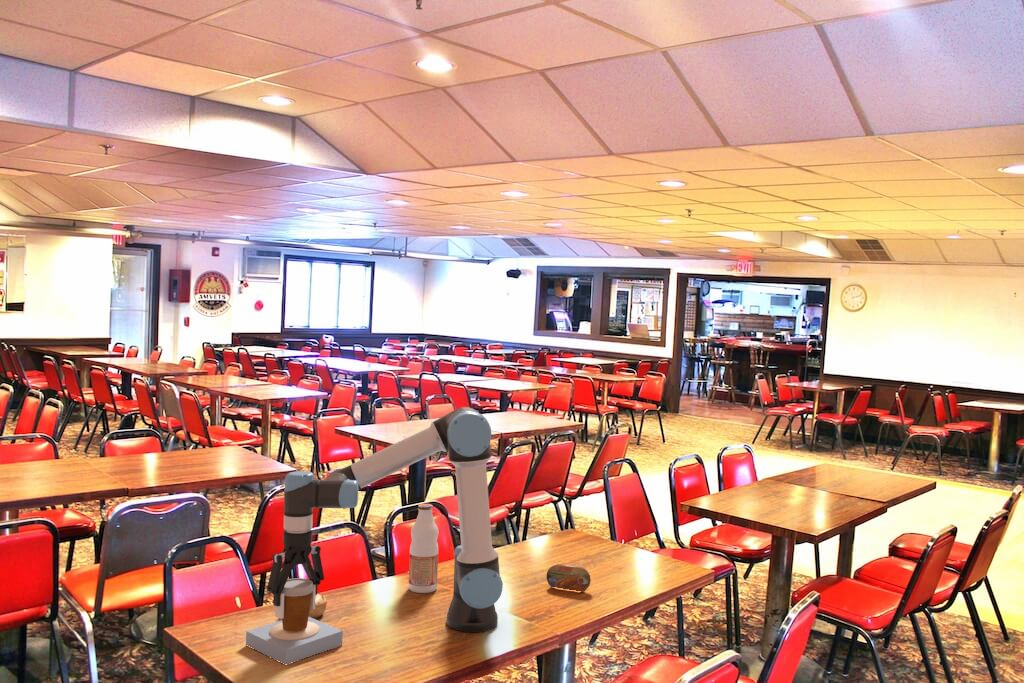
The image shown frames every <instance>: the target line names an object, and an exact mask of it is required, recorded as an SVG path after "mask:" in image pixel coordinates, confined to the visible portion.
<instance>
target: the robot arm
mask: <svg viewBox="0 0 1024 683" xmlns="http://www.w3.org/2000/svg"><path fill="white" fill-rule="evenodd" d="M491 441H492V428H491V425H490V423H489V421H488V419H487V418H486V417H485V416H484V415H483V414H481V413H480V412H479V411H478V410H476V409H474V408H472V407H469V406H462V407H459V408H456V409H454V410H452V411H450V412H448V413H446V414H445V415H443V416H441V417H440V418H438V419H435V420H434V421H431V424H430V426H429V427H427V428H425V429H423V430H420V431H419V432H417V433H415V434H412V435H411V436H408V437H406V438H404V439H401V440H399V441H397V442H395V443H393V444H391V445H389V446H387V447H385V448H383V449H381V450H377V452H374V453H373V454H370V455H368V456H365V457H364V458H362V459H359V460H358V461H355V462H353V463H352V464H350V465H348V466H345V467H343V468H338V469H334V470H333V471H331V472H330V473H329V474H328V475H327V478H326V479H315V475H314V473H313V472H311V471H305V470H297V471H296V470H295V471H290V472H289V473H287V474H286V475H285V477H284V478H285V481H284V489H283V491H284V494H283V498H284V499H283V500H284V501H283V507H284V509H283V529H284V531H283V532H282V534H283V535H282V545H283V550H282V552H281V553H279V554H278V553H273V554H272V565H271V570H270V574H269V579H268V583H267V587H266V591H267V593H268V592H269V593H270V594H273V598H272V599H273V602H272V604H273V606H274V607H275V608H274V609H275V610H274V611H275V614H274V617H276V618H278V619H280V620H282V619H283V618H284V594H283V593H282V591H283V588H284V586H285V584H286V581H287V580H288V579H289V576H290V574H291V573H292V571H293V570H294V568H295V567H296V566H298V565H302V568H303V569H304V572H305V574H306V576H307V579H309V580H311V581H312V582H313V585H314V590H313V592H312V597H311V604H310V608H311V609H315V595H317V594H318V586H319V585H321V581H324V580H325V574H324V569H323V564H322V558H321V546H319V545H316V544H312V541H313V530H312V529H313V520H314V519H313V516H314V515H313V513H314V511H313V509H353V508H356V507H357V506H358V504H359V491H360V490H361V489H362V488H365V487H367V486H369V485H371V484H373V483H375V482H377V481H379V480H382V479H383V478H386V477H388V476H390V475H392V474H394V473H396V472H398V471H401V470H402V469H406V468H407V467H409V466H412V465H413V464H416V463H417V462H419V461H421V460H424V459H426V458H428V457H430V456H432V455H434V454H436V453H438V452H441V451H442V452H445V453H446V452H448V461H449V463H450V464H452V465H453V466H454V467H455V479H456V480H455V481H456V492H457V493H456V494H457V495H456V496H457V508H458V519H459V520H458V521H459V534H460V535H459V537H460V544H459V545H458V546H456V547H455V549H454V555H453V557H454V563H453V564H454V567H453V568H454V569H453V594H452V595H453V596H452V599H451V602H450V604H449V608H448V611H447V613H446V620H445V621H446V624H447V626H448V627H449V628H451V629H453V630H456V631H460V632H465V633H480V632H486V631H489V630H492V629H494V628H496V627H497V625H498V621H499V618H498V613H497V610H496V607H495V603H497V601H499V599H500V597H501V596H502V592H503V584H504V583H503V579H502V577H501V575H500V564H499V553H498V552H497V551H496V550H495V549H494V546H493V540H492V527H491V513H490V512H491V511H490V500H489V499H490V498H489V485H488V472H487V463H488V462H489V461H490V459H491V458H492V454H491V452H492V451H491ZM311 544H312V545H311ZM310 555H311V559H310Z"/></svg>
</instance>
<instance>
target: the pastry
mask: <svg viewBox="0 0 1024 683" xmlns="http://www.w3.org/2000/svg"><path fill="white" fill-rule="evenodd" d="M327 604H328V600H327V598H326V597H325V595H324V594H321V593H318V592H317V595H315V609H311V608H310V610H309V617H311V618H313V619H315V618H316V619H318V618H320V617H322V616H323V614H324V613H325V611H326V609H327Z"/></svg>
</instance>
